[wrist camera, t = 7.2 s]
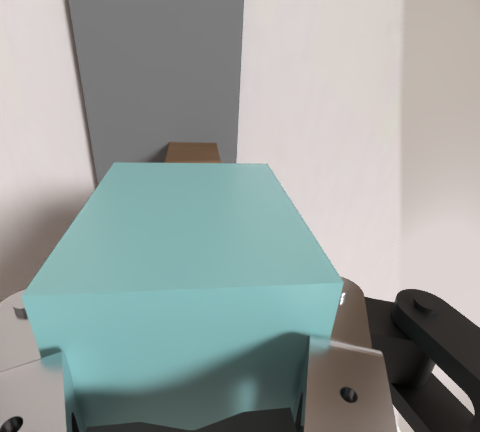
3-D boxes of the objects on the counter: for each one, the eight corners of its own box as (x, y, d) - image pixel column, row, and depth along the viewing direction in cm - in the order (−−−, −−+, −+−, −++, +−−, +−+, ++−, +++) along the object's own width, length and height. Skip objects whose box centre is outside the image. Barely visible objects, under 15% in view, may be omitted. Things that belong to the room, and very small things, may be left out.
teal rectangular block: (114, 162, 11) (21, 296, 5) (267, 163, 11) (344, 282, 6) (130, 286, 13) (79, 475, 7) (256, 281, 14) (302, 449, 8)
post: (169, 142, 18) (157, 190, 12) (216, 142, 18) (227, 190, 12) (172, 185, 19) (161, 249, 13) (215, 185, 20) (225, 248, 13)
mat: (1, -442, 10) (-5, -460, 10) (260, -380, 11) (262, -394, 11) (108, 236, 21) (106, 240, 20) (232, 234, 22) (232, 237, 21)
